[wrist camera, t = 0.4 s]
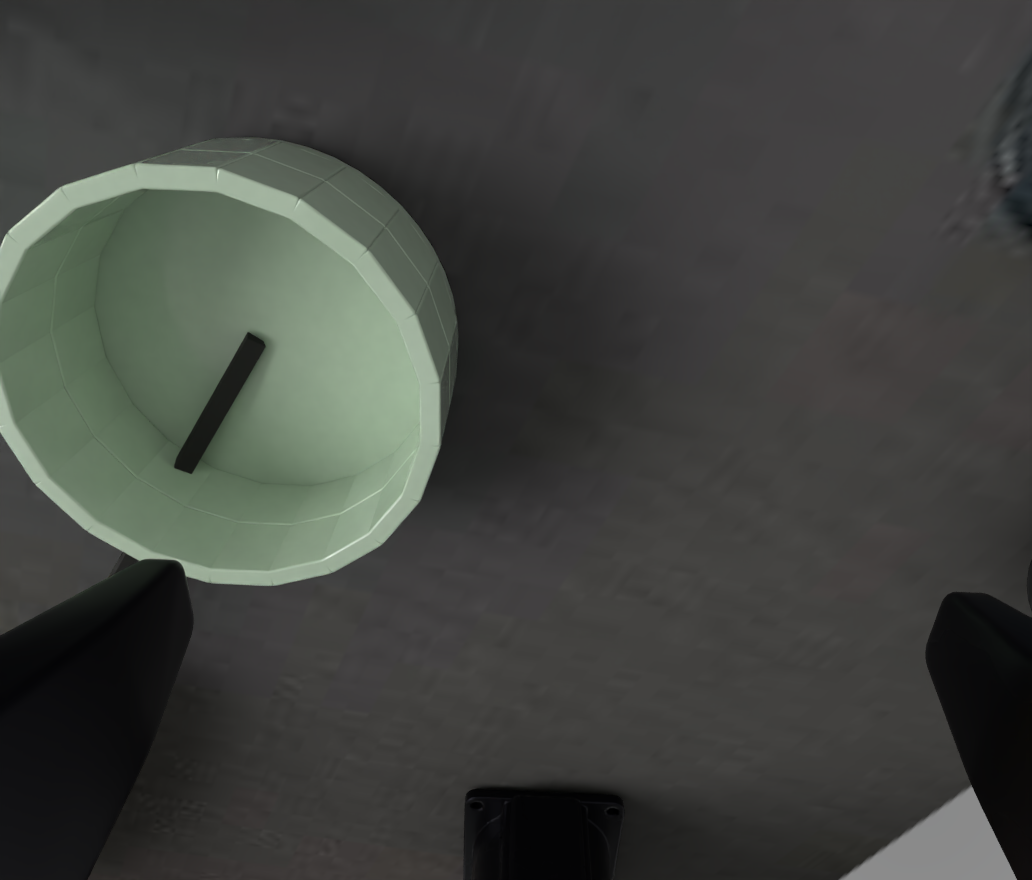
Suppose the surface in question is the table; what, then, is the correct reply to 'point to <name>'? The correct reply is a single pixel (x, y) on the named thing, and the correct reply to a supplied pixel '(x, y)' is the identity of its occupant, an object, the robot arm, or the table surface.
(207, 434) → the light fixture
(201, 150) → the bowl
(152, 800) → the table surface
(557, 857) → the robot arm
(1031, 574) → the toy car
